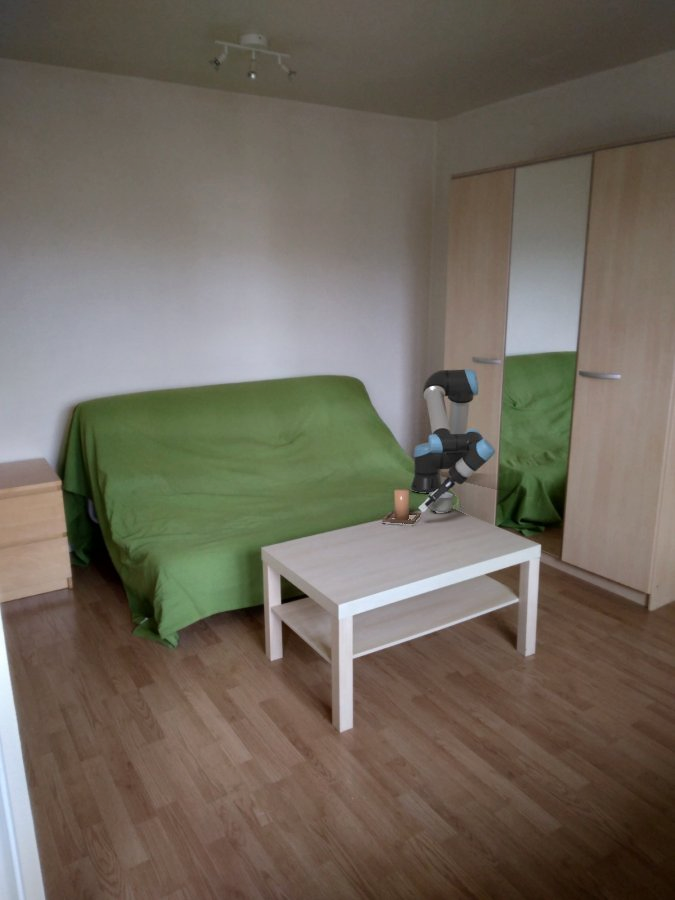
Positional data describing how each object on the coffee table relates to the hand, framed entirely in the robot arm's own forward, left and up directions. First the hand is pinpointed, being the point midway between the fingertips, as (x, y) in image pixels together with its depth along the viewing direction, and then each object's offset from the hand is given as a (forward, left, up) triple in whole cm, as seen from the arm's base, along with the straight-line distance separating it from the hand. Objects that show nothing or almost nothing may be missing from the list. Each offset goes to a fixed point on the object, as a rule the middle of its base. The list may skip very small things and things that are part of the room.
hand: (424, 505), depth 268 cm
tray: (0, -10, -7) cm, 12 cm away
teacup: (-16, +2, -7) cm, 18 cm away
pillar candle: (0, -10, -6) cm, 12 cm away
